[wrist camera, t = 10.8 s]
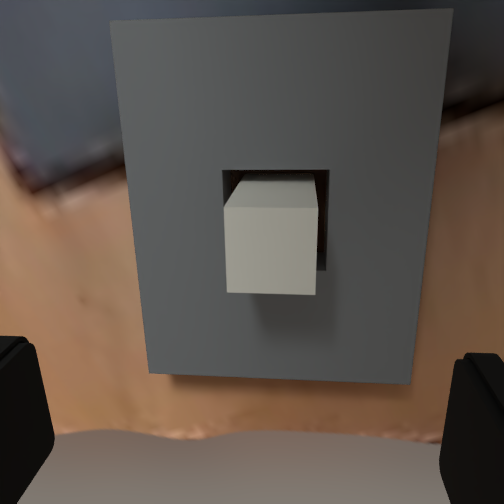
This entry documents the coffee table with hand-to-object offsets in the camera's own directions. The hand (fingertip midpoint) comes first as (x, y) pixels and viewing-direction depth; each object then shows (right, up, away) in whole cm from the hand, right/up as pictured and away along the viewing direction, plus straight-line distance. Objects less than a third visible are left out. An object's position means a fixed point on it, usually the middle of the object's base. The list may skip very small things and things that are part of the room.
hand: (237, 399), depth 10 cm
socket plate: (+2, +6, +17) cm, 18 cm away
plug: (+2, +6, +17) cm, 18 cm away
